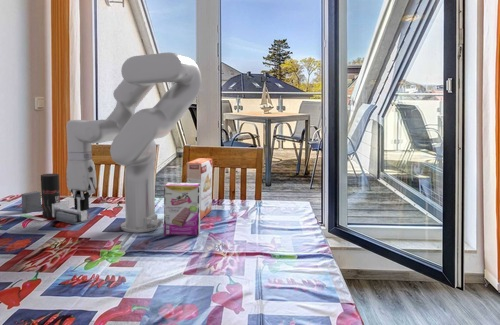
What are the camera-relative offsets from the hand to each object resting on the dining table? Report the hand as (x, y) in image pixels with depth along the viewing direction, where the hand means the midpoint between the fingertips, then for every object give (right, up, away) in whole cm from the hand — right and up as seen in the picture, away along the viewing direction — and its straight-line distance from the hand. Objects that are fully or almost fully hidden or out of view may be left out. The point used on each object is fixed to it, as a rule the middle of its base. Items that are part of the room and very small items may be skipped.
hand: (81, 209), depth 144 cm
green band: (-19, -3, +11) cm, 22 cm away
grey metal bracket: (-5, -4, +3) cm, 7 cm away
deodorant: (-14, -3, +8) cm, 17 cm away
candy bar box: (+36, -7, -9) cm, 38 cm away
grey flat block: (-24, -2, +13) cm, 28 cm away
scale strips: (-14, -3, +8) cm, 16 cm away
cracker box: (+39, -4, +13) cm, 41 cm away
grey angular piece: (-5, -4, +3) cm, 7 cm away
